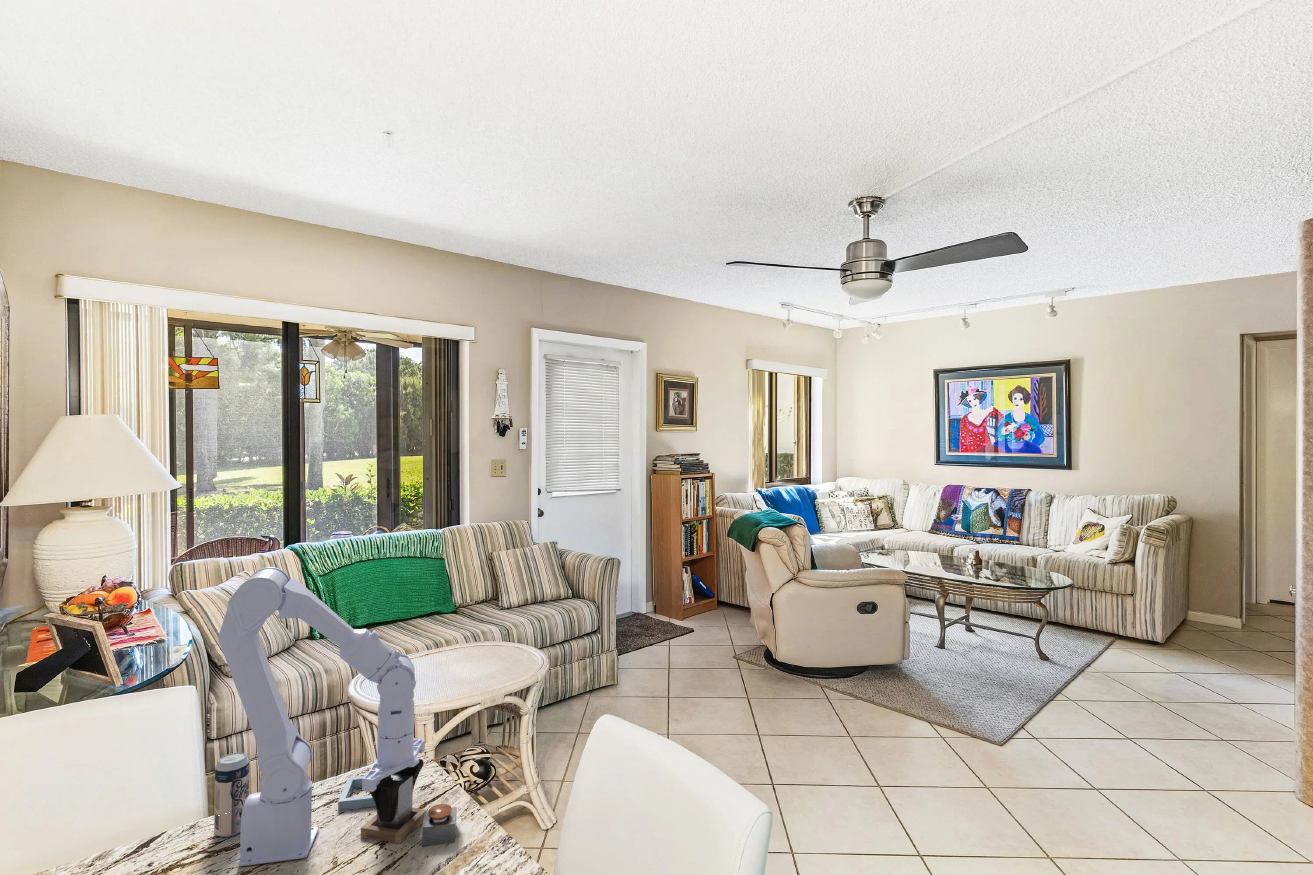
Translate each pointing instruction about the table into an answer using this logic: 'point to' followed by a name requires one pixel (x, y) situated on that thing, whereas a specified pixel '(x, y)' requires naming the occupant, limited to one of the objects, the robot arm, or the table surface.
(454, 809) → the frame
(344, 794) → the light blue square frame
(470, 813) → the table surface
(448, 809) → the plunger
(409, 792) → the grey metal block
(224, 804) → the beer can
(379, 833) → the walnut socket
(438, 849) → the table surface
